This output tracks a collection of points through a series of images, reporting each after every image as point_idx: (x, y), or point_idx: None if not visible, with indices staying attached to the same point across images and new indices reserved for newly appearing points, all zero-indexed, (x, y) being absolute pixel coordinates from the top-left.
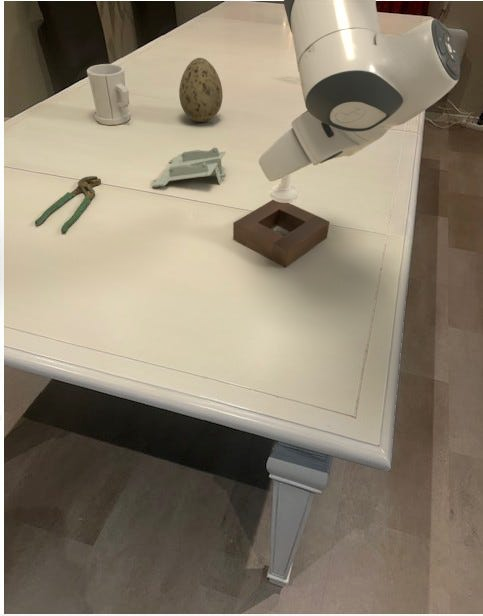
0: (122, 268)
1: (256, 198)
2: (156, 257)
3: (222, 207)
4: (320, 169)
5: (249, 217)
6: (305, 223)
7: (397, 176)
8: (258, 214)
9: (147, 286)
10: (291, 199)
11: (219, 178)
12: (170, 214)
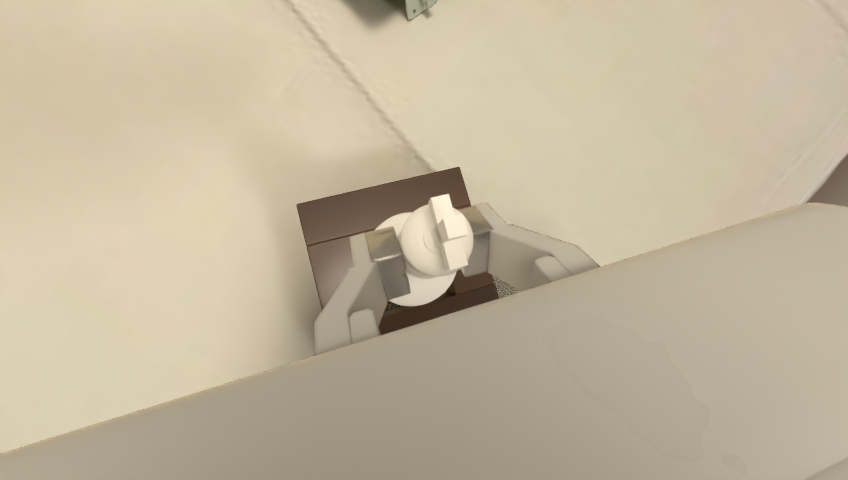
0: (21, 177)
1: (448, 110)
2: (115, 182)
3: (361, 99)
4: (638, 93)
5: (345, 206)
6: (450, 300)
7: (761, 205)
8: (373, 207)
9: (33, 265)
10: (406, 304)
11: (413, 5)
12: (241, 58)
